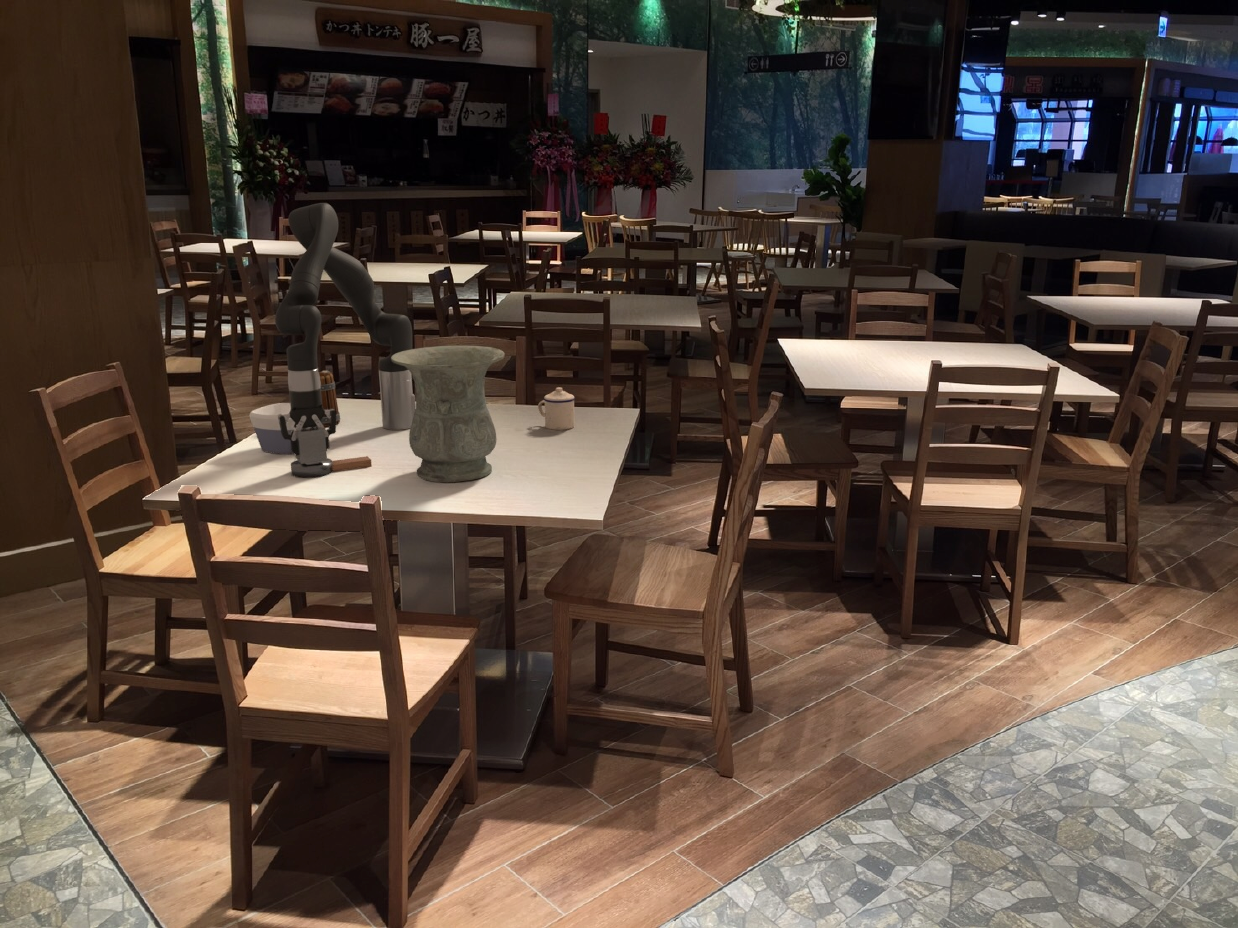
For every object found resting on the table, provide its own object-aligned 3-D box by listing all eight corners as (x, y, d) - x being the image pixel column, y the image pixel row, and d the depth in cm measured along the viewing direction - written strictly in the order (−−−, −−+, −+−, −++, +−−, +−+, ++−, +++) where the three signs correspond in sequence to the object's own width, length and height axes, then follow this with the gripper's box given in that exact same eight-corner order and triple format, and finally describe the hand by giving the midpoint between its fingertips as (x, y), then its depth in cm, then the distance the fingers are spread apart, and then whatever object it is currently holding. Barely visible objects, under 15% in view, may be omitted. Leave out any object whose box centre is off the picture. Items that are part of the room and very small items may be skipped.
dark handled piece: (364, 460, 268) (362, 432, 266) (374, 469, 259) (372, 440, 257) (287, 470, 259) (285, 441, 257) (296, 480, 251) (293, 450, 249)
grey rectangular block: (321, 454, 260) (318, 423, 258) (327, 460, 255) (324, 429, 253) (295, 457, 257) (292, 426, 255) (301, 463, 252) (298, 432, 250)
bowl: (245, 453, 275) (240, 413, 272) (281, 440, 289) (278, 401, 286) (292, 458, 270) (289, 417, 267) (327, 444, 284) (324, 405, 281)
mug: (335, 428, 302) (330, 378, 298) (299, 428, 303) (294, 378, 298) (349, 416, 317) (345, 368, 313) (315, 416, 318) (311, 368, 314)
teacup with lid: (581, 425, 304) (580, 386, 301) (564, 431, 297) (563, 392, 293) (547, 420, 310) (547, 382, 307) (530, 426, 302) (529, 388, 299)
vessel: (383, 486, 245) (374, 362, 237) (419, 457, 270) (412, 344, 262) (493, 490, 241) (488, 364, 233) (519, 460, 267) (515, 346, 259)
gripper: (330, 381, 258) (336, 445, 262) (271, 387, 251) (278, 453, 256) (337, 386, 251) (343, 452, 256) (277, 392, 245) (283, 460, 249)
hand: (310, 452), depth 256 cm, fingers closed on grey rectangular block, 6 cm apart
